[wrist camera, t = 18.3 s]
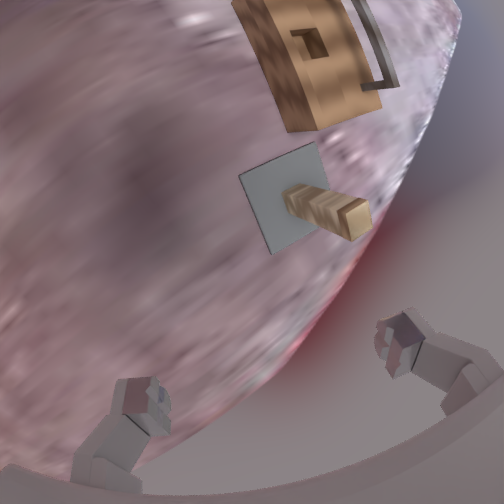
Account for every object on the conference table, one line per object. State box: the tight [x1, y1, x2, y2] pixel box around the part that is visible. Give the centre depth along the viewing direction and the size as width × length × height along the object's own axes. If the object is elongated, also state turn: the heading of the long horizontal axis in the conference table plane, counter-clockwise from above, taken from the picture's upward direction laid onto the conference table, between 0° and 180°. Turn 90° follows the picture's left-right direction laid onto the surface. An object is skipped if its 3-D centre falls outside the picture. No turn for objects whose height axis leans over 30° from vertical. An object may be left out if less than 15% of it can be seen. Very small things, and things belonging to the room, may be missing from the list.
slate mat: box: [239, 142, 330, 255], centre depth 43 cm, size 14×14×1 cm
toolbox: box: [231, 0, 400, 132], centre depth 29 cm, size 24×14×14 cm, turn 22°
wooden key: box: [281, 183, 373, 242], centre depth 36 cm, size 4×4×15 cm
